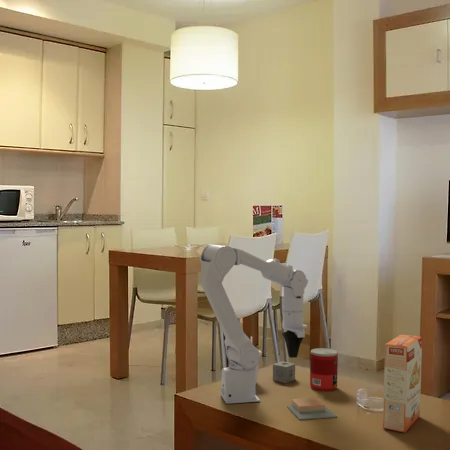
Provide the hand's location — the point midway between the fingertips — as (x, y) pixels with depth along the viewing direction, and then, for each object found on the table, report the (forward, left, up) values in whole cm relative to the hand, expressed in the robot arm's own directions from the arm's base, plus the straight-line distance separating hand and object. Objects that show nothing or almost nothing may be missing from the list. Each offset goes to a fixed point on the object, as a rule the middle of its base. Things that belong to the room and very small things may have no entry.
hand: (292, 357), depth 174 cm
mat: (-1, -18, -10) cm, 21 cm away
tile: (-1, -16, -9) cm, 18 cm away
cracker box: (+19, -30, -10) cm, 37 cm away
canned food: (+10, +1, -10) cm, 14 cm away
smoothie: (-10, +10, -10) cm, 17 cm away
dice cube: (+1, +11, -10) cm, 15 cm away
